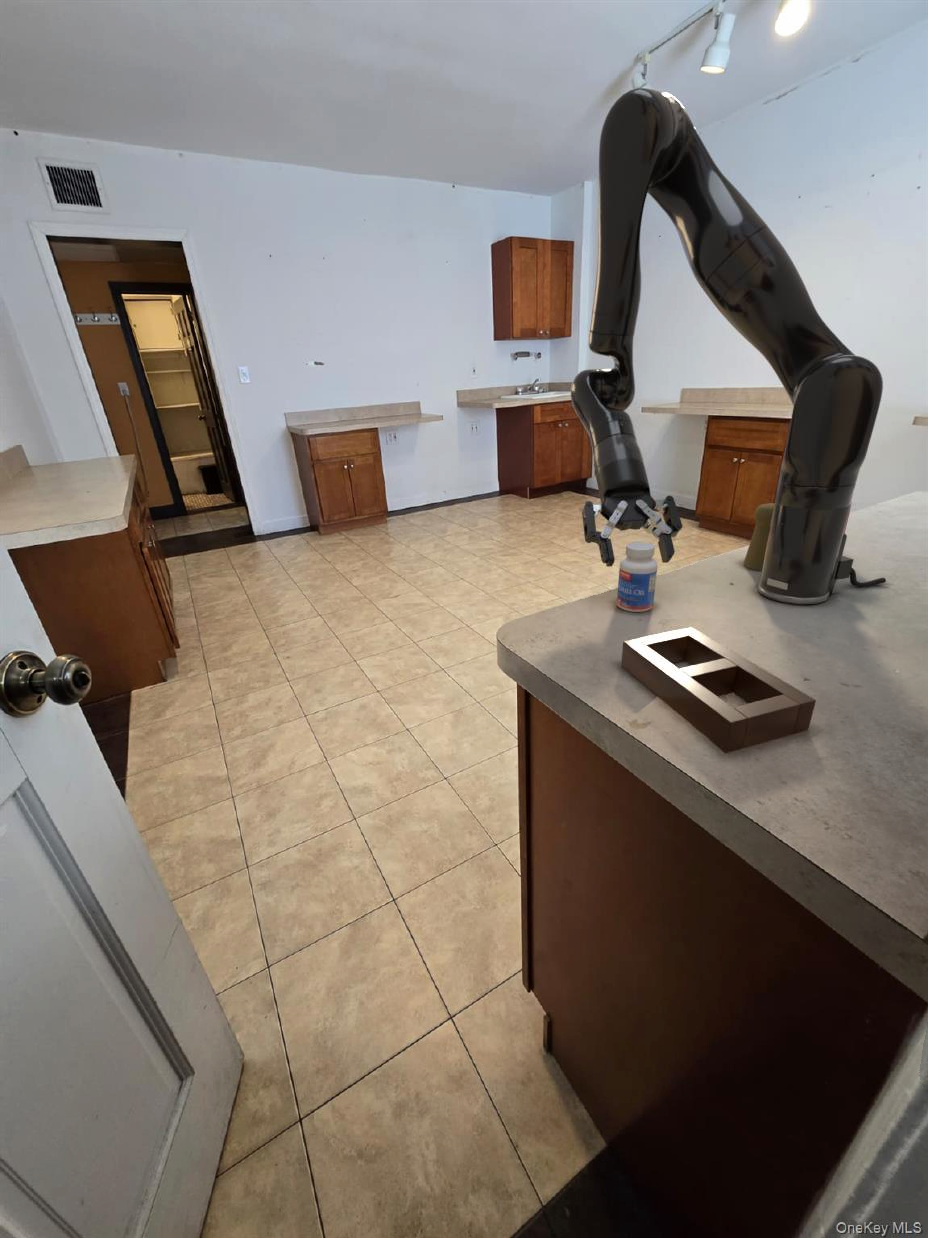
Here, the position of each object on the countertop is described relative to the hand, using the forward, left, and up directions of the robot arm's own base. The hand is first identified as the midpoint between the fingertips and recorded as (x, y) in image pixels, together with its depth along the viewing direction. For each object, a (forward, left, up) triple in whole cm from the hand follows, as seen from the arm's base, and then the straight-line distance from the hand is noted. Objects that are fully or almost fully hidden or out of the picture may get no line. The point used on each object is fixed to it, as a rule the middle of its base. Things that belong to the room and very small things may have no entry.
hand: (639, 562), depth 76 cm
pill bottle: (0, -1, -7) cm, 8 cm away
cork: (-30, -7, -7) cm, 32 cm away
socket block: (+7, +23, -7) cm, 25 cm away
